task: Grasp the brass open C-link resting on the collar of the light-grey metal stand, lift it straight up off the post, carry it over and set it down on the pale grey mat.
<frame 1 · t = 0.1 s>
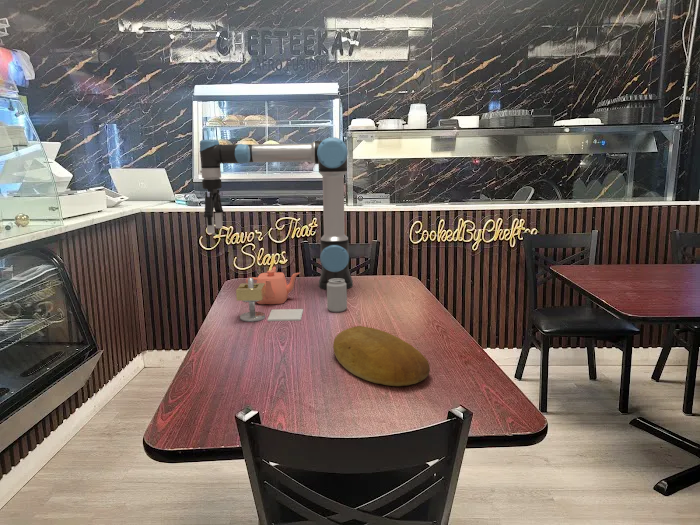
hand: (215, 230, 217), 28 cm above the table, fingers open, 13 cm apart
pot: (274, 300, 216), on the table
bread: (375, 367, 149), on the table
stand: (252, 317, 194), on the table
mat: (285, 315, 196), on the table
can: (337, 310, 202), on the table
link: (251, 297, 192), point 8 cm above the table, touching stand
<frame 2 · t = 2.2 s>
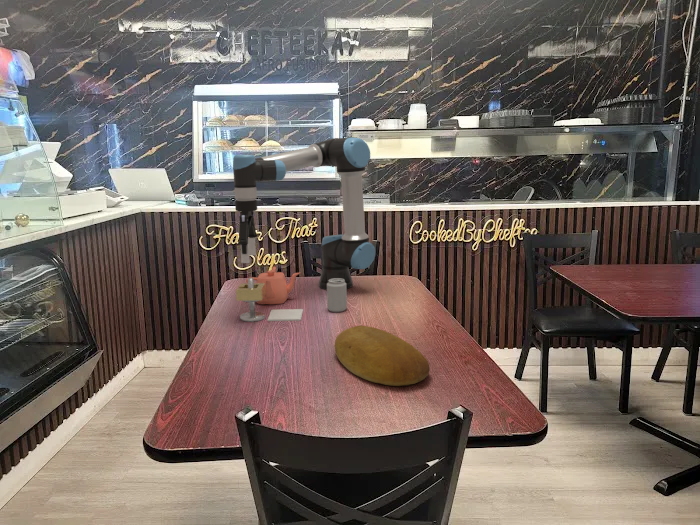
hand: (248, 259, 189), 22 cm above the table, fingers open, 13 cm apart
nothing on the table moved.
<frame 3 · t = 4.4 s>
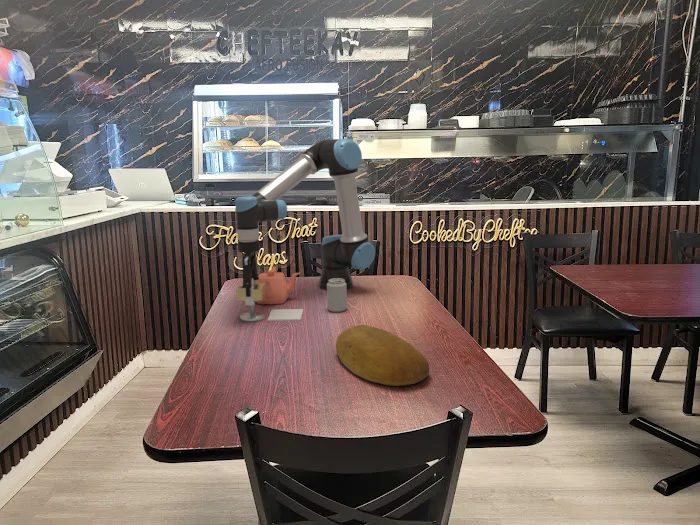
hand: (251, 301, 192), 6 cm above the table, fingers closed on link, 9 cm apart
link: (251, 296, 192), point 8 cm above the table, touching gripper, stand
everything else where it was.
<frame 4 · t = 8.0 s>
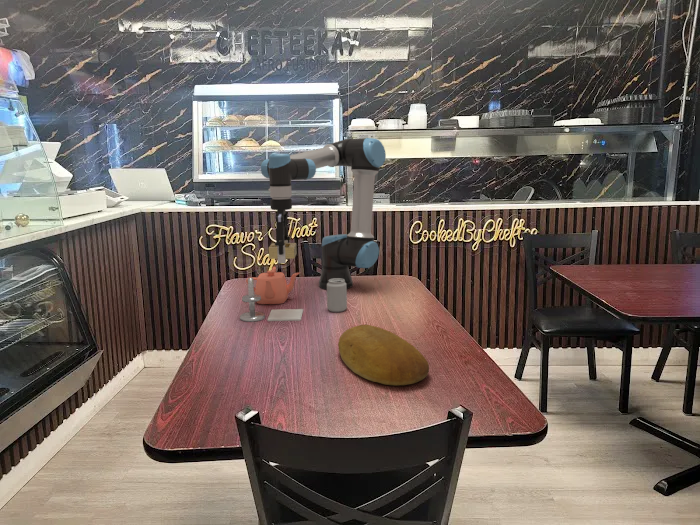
hand: (283, 260, 191), 21 cm above the table, fingers closed on link, 9 cm apart
link: (283, 256, 191), point 23 cm above the table, touching gripper
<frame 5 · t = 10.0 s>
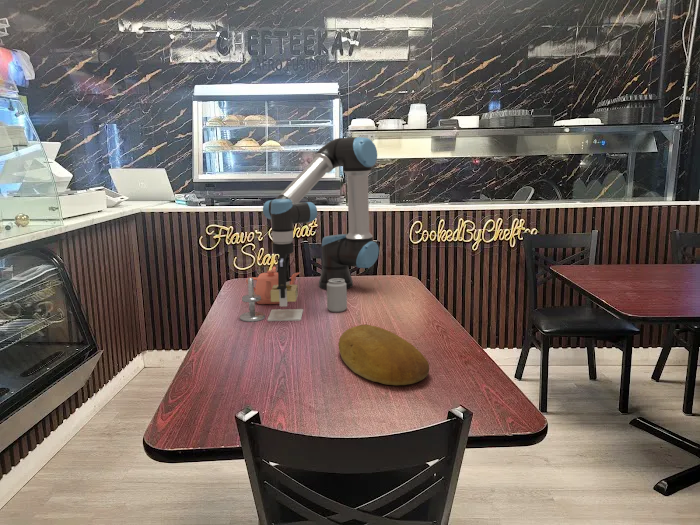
hand: (285, 302, 194), 5 cm above the table, fingers closed on link, 9 cm apart
link: (284, 298, 194), point 7 cm above the table, touching gripper
when the fingers open (3 cm above the table, at t = 11.5 s): link drops 4 cm, resting on mat.
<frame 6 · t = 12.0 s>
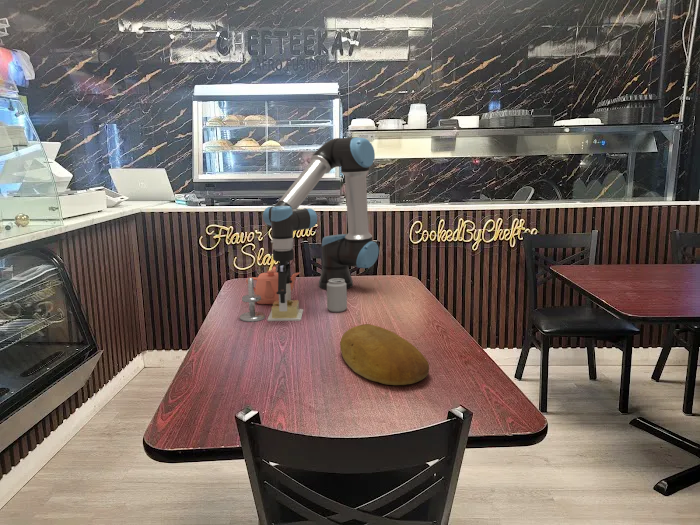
hand: (285, 305, 195), 4 cm above the table, fingers open, 13 cm apart
link: (285, 314, 196), point 1 cm above the table, touching mat
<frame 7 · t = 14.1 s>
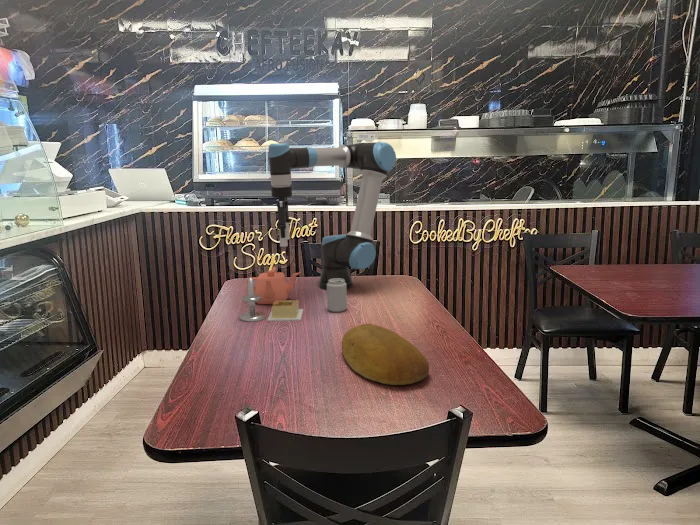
hand: (285, 242, 199), 26 cm above the table, fingers open, 13 cm apart
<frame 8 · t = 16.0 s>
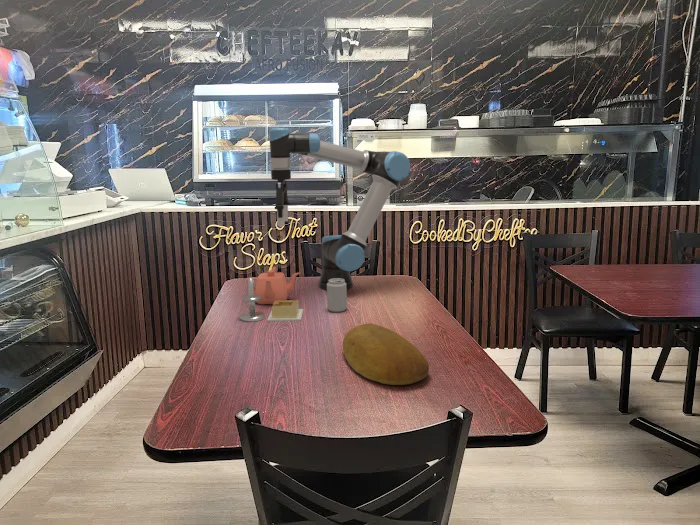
hand: (283, 223, 208), 32 cm above the table, fingers open, 13 cm apart
at the end: link inside the target area on the mat (0.0 cm from its centre), point 0.6 cm above the mat's base; link touching mat; the gripper is holding nothing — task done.
